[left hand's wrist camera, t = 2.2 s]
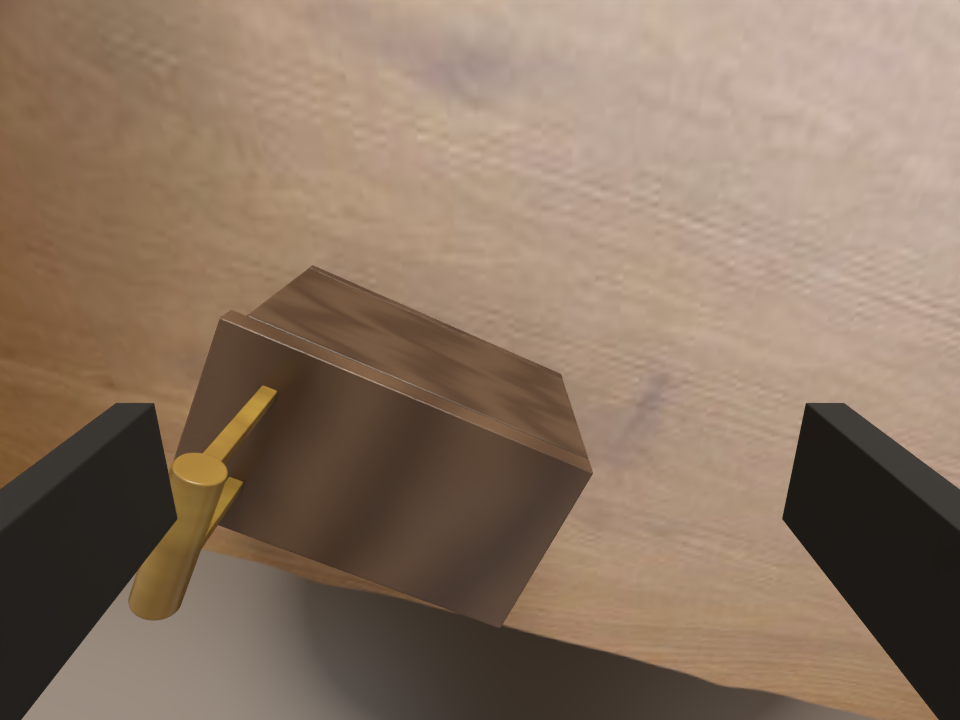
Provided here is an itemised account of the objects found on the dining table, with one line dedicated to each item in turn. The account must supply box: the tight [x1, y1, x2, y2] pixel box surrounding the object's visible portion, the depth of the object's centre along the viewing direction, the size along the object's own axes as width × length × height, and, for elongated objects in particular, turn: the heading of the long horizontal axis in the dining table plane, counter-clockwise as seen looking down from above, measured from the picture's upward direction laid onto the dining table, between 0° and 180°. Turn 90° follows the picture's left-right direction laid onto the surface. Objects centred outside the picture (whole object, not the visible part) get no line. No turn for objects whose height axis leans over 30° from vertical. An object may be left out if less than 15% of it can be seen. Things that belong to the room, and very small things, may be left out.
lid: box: [128, 310, 593, 628], centre depth 25 cm, size 18×10×9 cm, turn 65°
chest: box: [247, 266, 588, 459], centre depth 35 cm, size 17×10×11 cm, turn 65°
